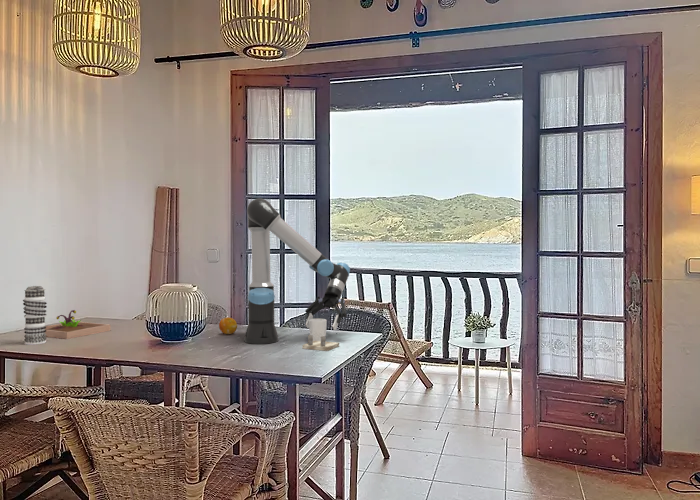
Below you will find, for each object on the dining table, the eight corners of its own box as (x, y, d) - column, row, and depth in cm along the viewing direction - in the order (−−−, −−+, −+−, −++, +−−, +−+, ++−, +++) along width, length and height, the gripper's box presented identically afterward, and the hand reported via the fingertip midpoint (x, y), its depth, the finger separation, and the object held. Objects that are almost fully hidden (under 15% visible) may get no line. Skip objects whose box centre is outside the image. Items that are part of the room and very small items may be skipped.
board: (302, 348, 236) (302, 335, 236) (314, 344, 246) (314, 331, 246) (327, 350, 231) (327, 337, 231) (339, 346, 241) (339, 333, 241)
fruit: (234, 335, 267) (234, 318, 267) (217, 335, 267) (216, 318, 267) (238, 332, 276) (238, 316, 275) (221, 332, 276) (221, 316, 275)
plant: (100, 332, 278) (100, 309, 277) (61, 338, 262) (60, 314, 261) (78, 328, 289) (78, 306, 289) (39, 333, 273) (39, 311, 273)
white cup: (324, 343, 247) (324, 321, 246) (306, 343, 248) (306, 320, 248) (328, 340, 254) (328, 318, 254) (311, 340, 256) (311, 318, 256)
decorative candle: (20, 342, 248) (19, 286, 247) (43, 340, 255) (42, 285, 254) (27, 345, 242) (26, 287, 241) (50, 342, 249) (49, 286, 248)
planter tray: (30, 334, 268) (30, 328, 268) (75, 327, 291) (75, 321, 291) (67, 338, 258) (67, 332, 258) (110, 330, 281) (110, 324, 281)
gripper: (360, 297, 262) (348, 334, 249) (313, 294, 272) (298, 330, 259) (356, 286, 257) (343, 324, 244) (308, 284, 267) (293, 320, 254)
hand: (320, 327), depth 252 cm, fingers open, 13 cm apart
